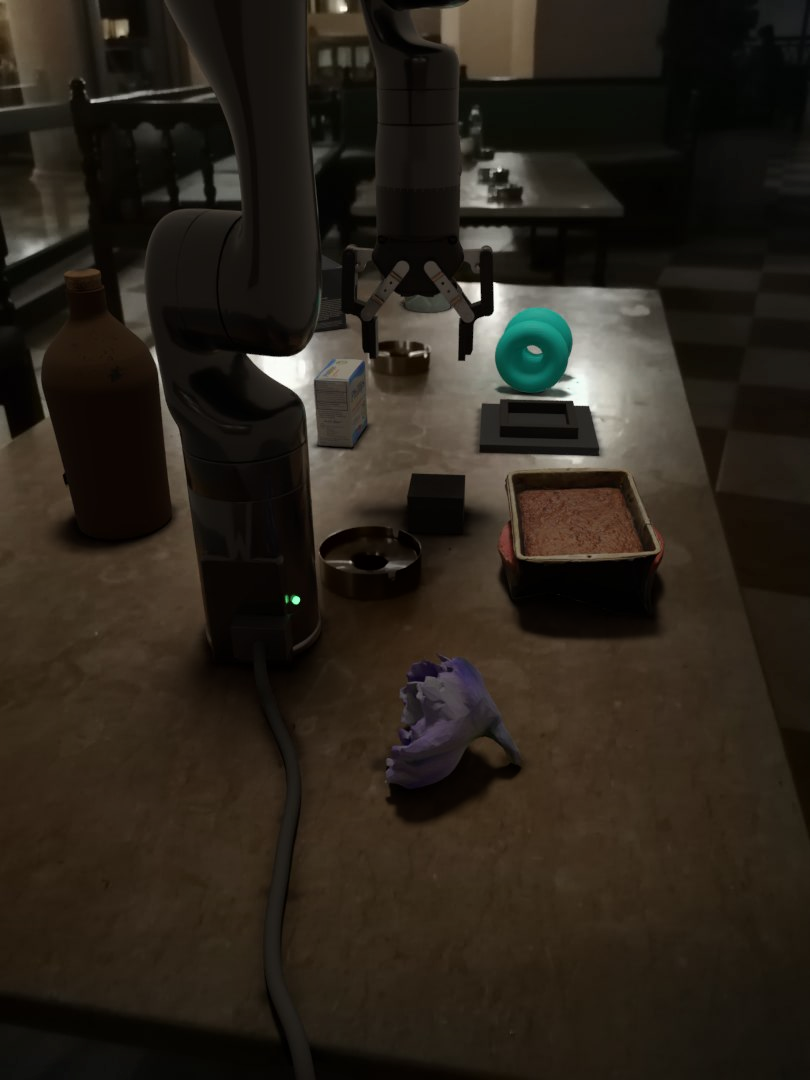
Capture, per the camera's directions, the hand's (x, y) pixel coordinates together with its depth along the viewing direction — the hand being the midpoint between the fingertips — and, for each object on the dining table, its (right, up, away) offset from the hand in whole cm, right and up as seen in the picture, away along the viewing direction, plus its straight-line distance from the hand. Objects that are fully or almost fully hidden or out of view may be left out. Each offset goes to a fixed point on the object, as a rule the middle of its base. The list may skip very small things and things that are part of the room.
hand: (418, 357), depth 88 cm
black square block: (+2, -16, +5) cm, 16 cm away
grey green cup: (+3, +25, +79) cm, 83 cm away
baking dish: (+14, -21, -5) cm, 26 cm away
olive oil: (-30, -16, +6) cm, 34 cm away
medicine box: (-9, -5, +25) cm, 27 cm away
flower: (+2, -33, -26) cm, 42 cm away
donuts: (+17, +4, +41) cm, 45 cm away
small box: (-16, +20, +71) cm, 75 cm away
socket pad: (+15, -4, +26) cm, 30 cm away
